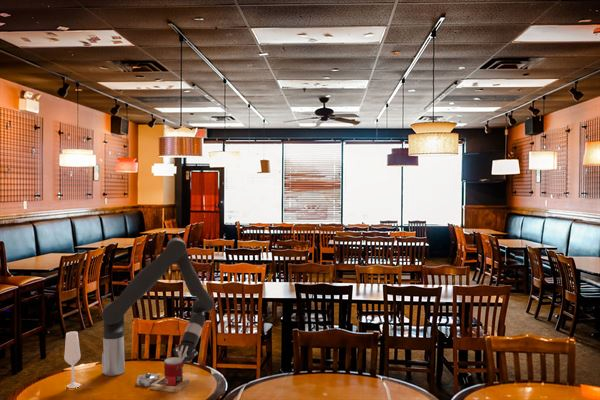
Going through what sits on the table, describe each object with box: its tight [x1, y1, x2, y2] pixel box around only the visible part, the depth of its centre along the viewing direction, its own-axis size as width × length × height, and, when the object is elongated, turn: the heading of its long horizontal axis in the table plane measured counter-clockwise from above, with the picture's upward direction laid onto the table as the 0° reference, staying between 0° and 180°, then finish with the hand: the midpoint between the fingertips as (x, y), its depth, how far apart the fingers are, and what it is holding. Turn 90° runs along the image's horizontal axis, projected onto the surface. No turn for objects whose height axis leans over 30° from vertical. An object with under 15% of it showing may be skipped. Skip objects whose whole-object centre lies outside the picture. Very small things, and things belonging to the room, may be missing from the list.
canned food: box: [163, 356, 184, 387], centre depth 240 cm, size 8×8×11 cm
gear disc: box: [136, 372, 160, 388], centre depth 243 cm, size 10×10×4 cm
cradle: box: [149, 375, 190, 393], centre depth 238 cm, size 13×10×2 cm
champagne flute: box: [63, 330, 82, 389], centre depth 238 cm, size 7×7×24 cm
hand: (178, 369), depth 244 cm, fingers closed
